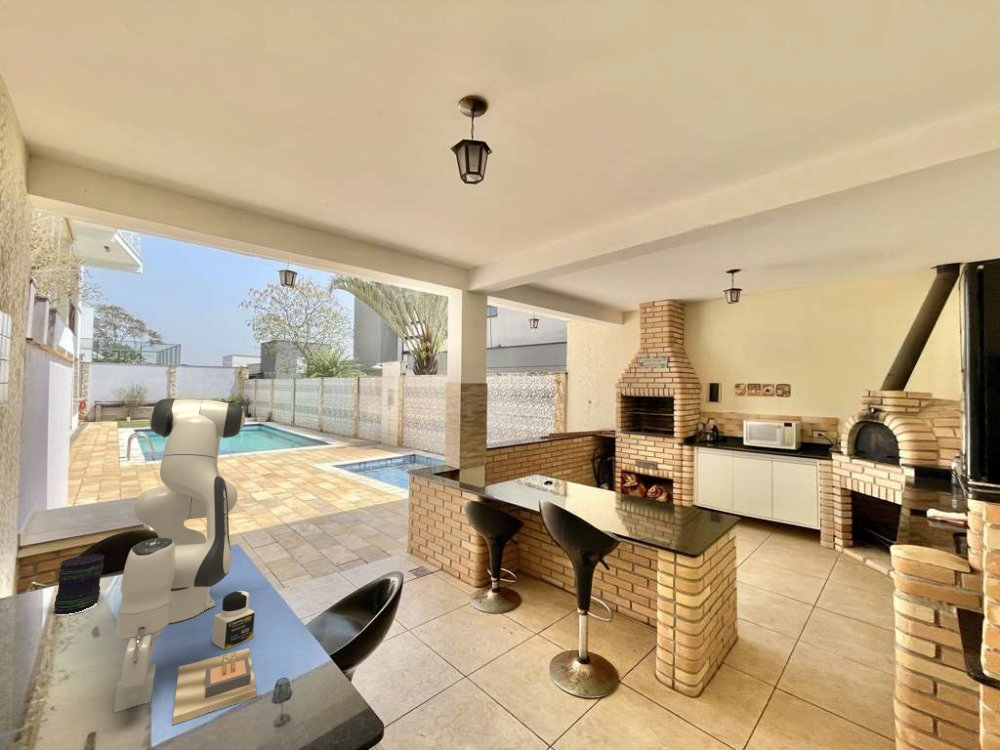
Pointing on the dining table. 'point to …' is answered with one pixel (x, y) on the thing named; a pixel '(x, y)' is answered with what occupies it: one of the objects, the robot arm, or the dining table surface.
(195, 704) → the board
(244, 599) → the medicine bottle
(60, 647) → the dining table surface
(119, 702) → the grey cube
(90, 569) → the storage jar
